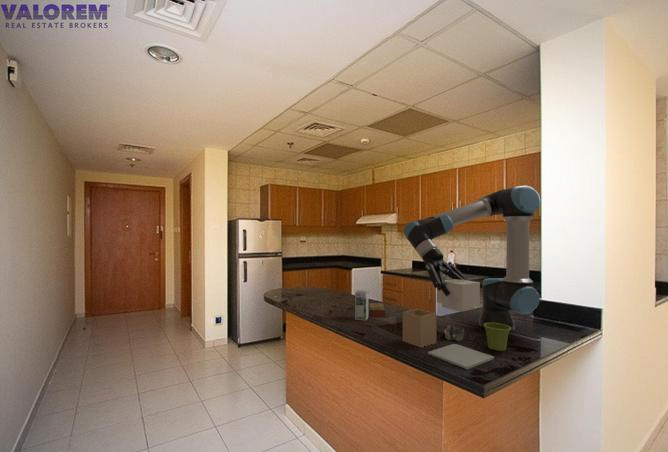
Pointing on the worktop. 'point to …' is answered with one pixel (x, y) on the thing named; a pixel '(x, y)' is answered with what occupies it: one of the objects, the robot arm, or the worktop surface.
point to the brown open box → (419, 327)
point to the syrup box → (361, 305)
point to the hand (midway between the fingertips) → (465, 300)
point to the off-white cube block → (461, 294)
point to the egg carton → (454, 333)
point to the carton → (376, 310)
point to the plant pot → (497, 335)
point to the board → (461, 356)
